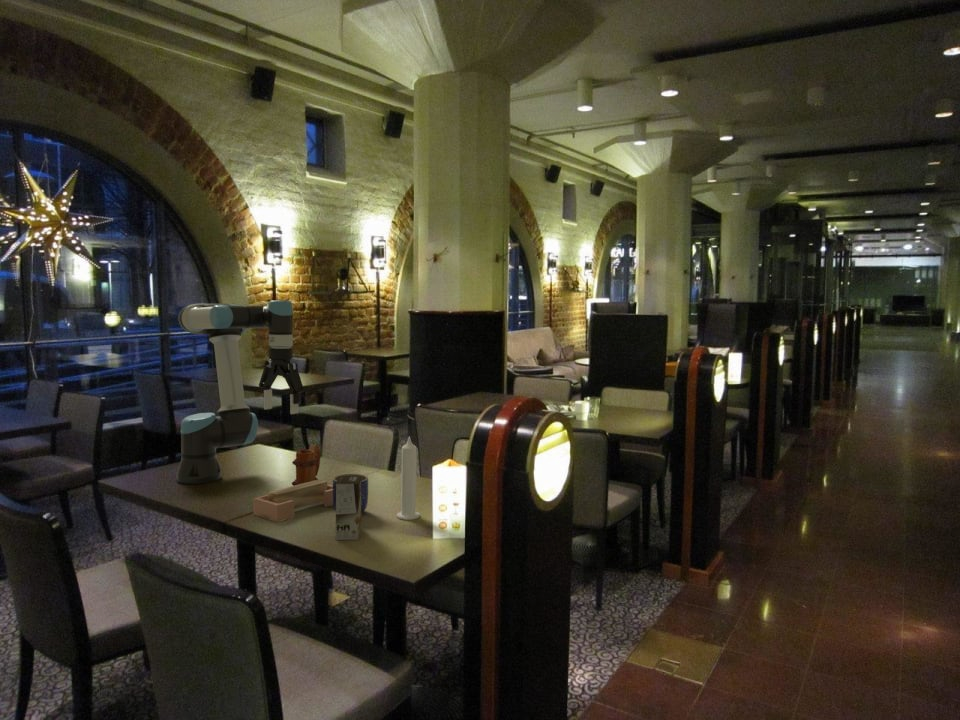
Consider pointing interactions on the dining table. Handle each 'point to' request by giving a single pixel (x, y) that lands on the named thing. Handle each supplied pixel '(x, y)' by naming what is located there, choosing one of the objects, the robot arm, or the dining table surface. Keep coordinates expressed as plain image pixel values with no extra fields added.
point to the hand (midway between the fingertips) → (280, 411)
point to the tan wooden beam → (300, 493)
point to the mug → (307, 465)
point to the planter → (363, 490)
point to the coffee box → (348, 507)
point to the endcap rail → (285, 506)
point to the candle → (408, 482)
